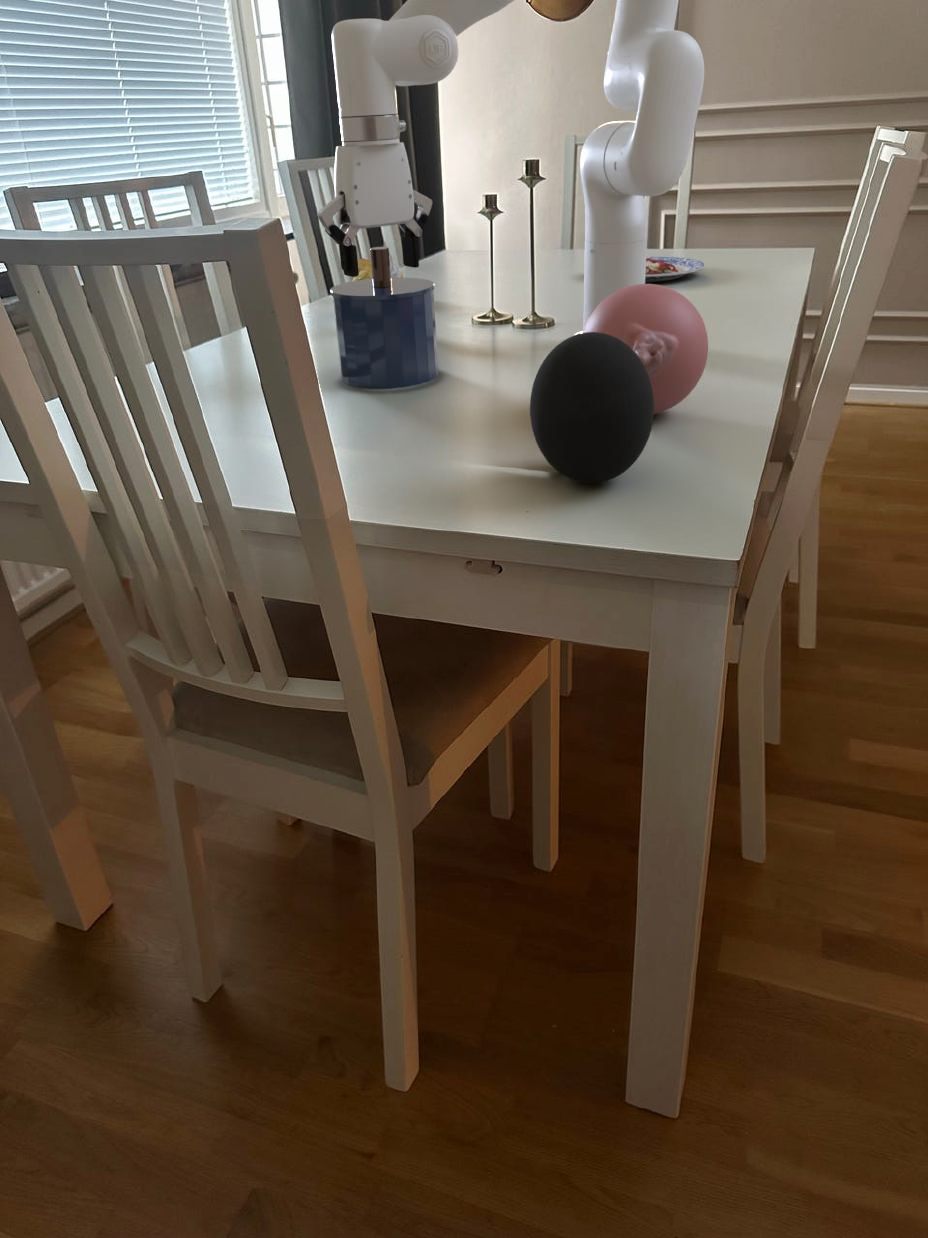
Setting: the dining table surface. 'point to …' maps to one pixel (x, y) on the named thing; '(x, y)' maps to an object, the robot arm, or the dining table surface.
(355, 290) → the lid
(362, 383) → the pot
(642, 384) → the decorative egg
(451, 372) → the dining table surface
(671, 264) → the ceramic plate
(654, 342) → the balloon
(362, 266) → the bread roll
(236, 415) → the dining table surface
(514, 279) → the dining table surface
